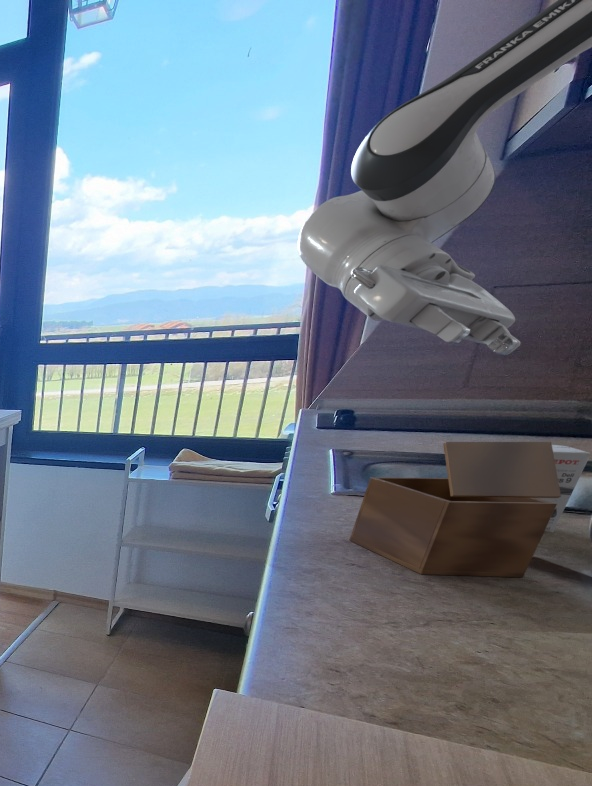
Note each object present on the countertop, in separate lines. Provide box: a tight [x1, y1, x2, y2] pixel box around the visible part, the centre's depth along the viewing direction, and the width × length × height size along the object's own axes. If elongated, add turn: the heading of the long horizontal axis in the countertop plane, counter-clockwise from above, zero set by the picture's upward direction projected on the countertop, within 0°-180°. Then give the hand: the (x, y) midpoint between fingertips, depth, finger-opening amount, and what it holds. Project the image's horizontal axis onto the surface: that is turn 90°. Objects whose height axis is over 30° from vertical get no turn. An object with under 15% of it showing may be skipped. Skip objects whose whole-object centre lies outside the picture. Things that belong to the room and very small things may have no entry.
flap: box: [442, 441, 561, 498], centre depth 68 cm, size 10×6×1 cm
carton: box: [348, 476, 557, 578], centre depth 75 cm, size 10×13×8 cm
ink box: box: [537, 444, 592, 533], centre depth 81 cm, size 9×5×12 cm, turn 68°
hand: (486, 343), depth 72 cm, fingers open, 8 cm apart
